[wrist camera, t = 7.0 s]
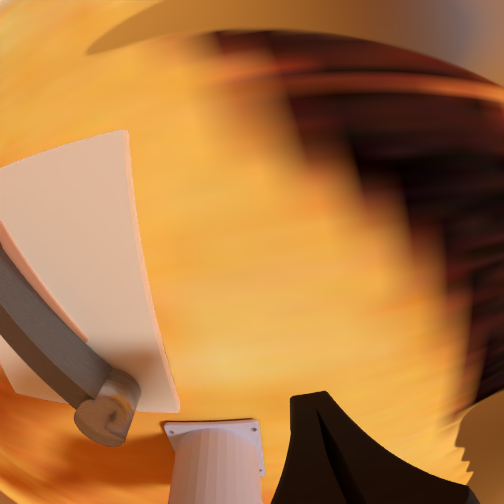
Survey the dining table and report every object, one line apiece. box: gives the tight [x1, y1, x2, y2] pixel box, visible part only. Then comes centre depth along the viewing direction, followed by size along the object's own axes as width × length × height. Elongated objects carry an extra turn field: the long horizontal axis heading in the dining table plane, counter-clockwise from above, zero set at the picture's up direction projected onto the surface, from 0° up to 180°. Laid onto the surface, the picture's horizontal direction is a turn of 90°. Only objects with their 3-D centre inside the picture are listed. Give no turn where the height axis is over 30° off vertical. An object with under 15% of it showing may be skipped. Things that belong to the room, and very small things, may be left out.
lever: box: [0, 242, 141, 447], centre depth 15 cm, size 17×4×5 cm, turn 42°
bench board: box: [0, 129, 181, 413], centre depth 17 cm, size 20×18×1 cm
